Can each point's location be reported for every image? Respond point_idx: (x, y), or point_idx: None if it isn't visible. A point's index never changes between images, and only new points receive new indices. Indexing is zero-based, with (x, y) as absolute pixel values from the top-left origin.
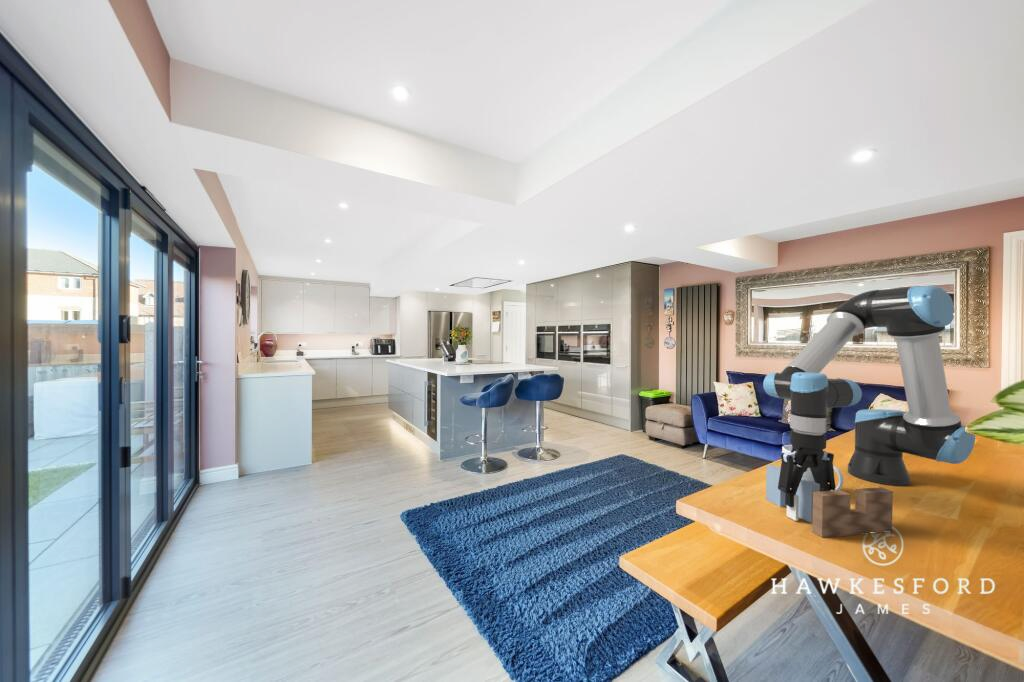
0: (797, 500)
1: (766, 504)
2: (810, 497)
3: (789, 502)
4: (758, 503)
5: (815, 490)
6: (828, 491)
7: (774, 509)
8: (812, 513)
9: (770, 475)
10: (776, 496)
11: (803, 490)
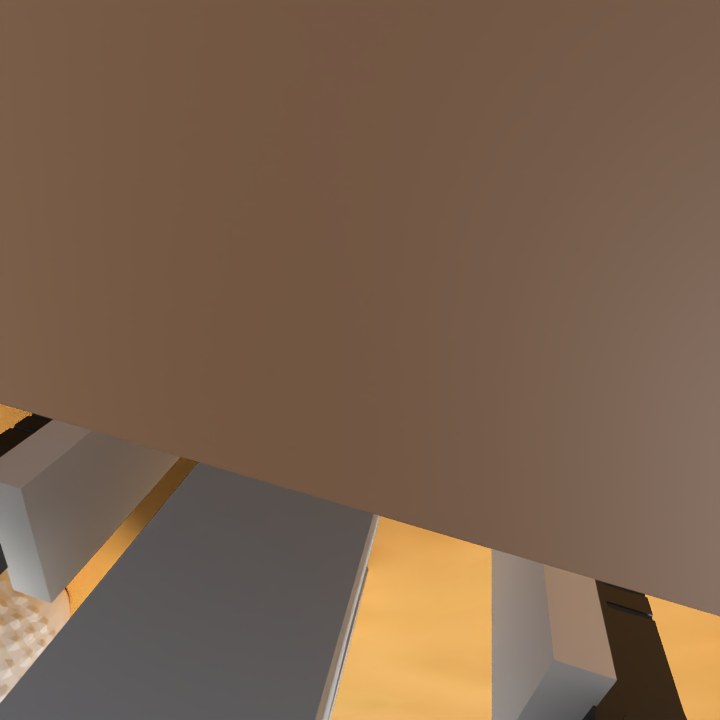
0: (569, 587)
1: (432, 625)
2: (364, 541)
3: (649, 606)
4: (476, 655)
5: (209, 643)
6: (220, 345)
7: (462, 571)
8: None
9: None
10: (344, 660)
11: (325, 705)
